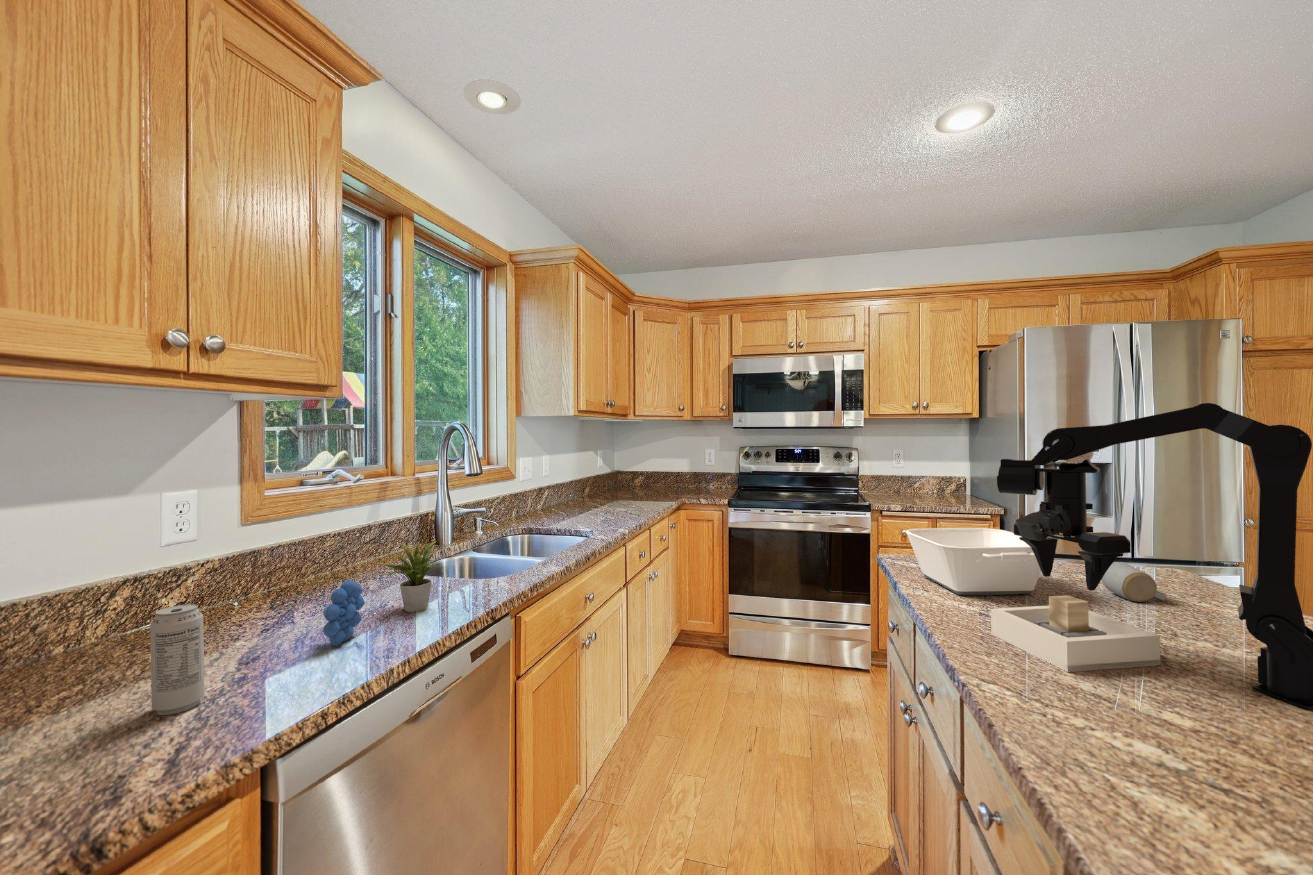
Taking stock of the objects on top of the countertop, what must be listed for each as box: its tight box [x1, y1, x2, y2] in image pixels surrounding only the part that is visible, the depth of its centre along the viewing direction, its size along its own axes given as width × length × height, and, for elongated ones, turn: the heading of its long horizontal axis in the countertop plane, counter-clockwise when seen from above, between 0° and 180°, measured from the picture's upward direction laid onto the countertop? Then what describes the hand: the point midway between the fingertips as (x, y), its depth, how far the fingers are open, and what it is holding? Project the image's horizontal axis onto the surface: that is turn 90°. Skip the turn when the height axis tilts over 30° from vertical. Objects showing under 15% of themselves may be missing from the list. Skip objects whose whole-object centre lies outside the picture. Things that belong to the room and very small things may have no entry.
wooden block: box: [1048, 595, 1089, 633], centre depth 96 cm, size 4×4×8 cm
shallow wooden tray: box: [990, 605, 1161, 673], centre depth 96 cm, size 17×17×5 cm
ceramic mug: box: [1101, 561, 1168, 603], centre depth 124 cm, size 11×8×8 cm
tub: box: [905, 527, 1042, 596], centre depth 137 cm, size 34×27×13 cm
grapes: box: [322, 579, 366, 646], centre depth 108 cm, size 12×7×12 cm, turn 179°
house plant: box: [379, 540, 443, 613], centre depth 129 cm, size 14×14×16 cm
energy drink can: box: [149, 603, 205, 716], centre depth 82 cm, size 6×6×15 cm
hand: (1067, 583), depth 96 cm, fingers open, 9 cm apart
